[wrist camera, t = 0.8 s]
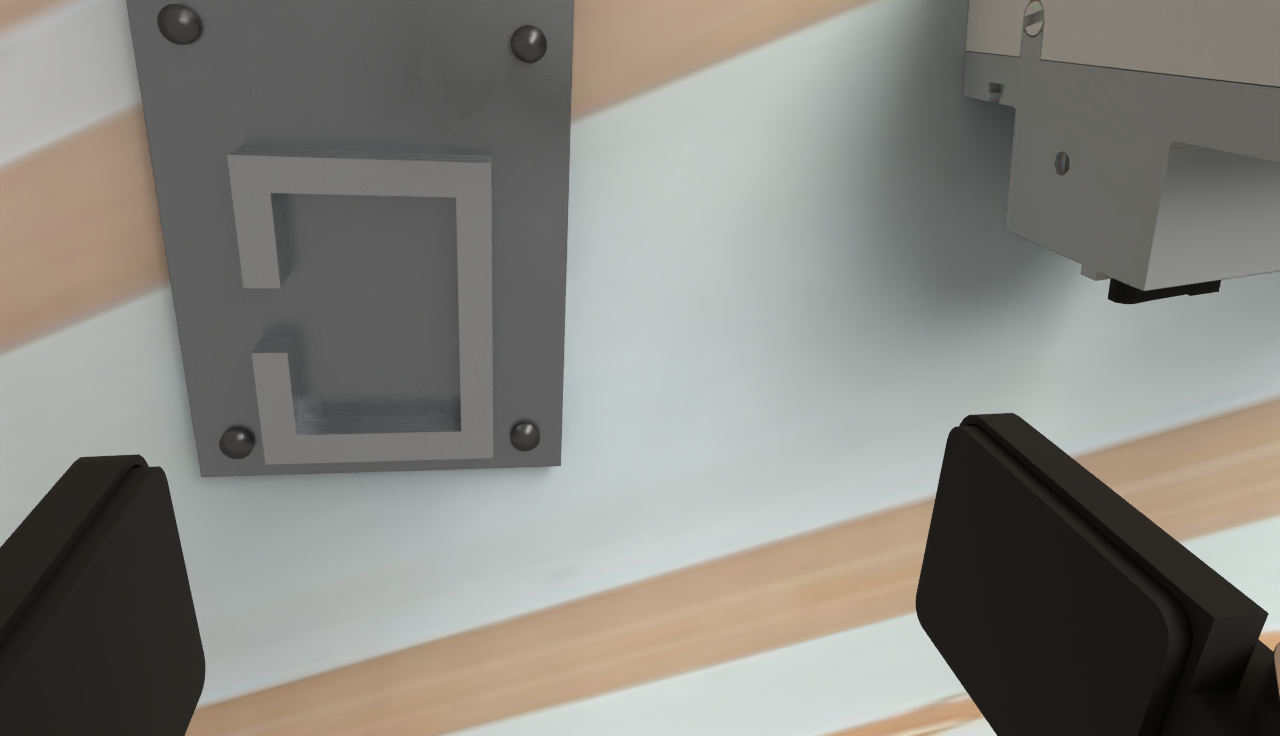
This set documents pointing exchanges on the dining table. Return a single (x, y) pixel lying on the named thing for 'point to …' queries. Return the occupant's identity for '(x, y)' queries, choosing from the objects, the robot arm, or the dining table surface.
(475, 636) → the dining table surface
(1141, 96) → the circuit breaker
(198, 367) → the plate
